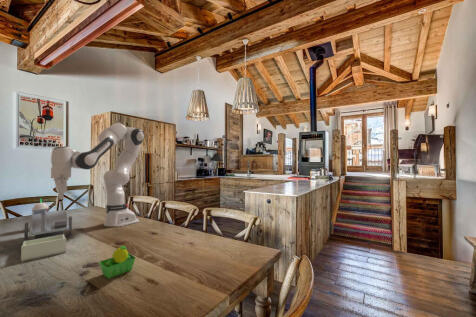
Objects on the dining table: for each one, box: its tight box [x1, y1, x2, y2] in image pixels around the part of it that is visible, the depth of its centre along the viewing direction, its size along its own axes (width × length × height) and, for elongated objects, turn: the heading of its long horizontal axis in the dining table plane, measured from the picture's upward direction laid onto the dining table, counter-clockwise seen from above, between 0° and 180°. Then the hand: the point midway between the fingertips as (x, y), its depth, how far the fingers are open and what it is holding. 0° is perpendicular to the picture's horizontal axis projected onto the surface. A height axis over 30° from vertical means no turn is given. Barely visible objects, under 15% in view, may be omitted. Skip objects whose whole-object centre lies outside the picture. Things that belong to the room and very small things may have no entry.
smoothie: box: [31, 198, 50, 212], centre depth 142 cm, size 8×8×20 cm
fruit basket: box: [98, 245, 136, 279], centre depth 87 cm, size 11×9×11 cm
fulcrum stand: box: [23, 215, 73, 242], centre depth 124 cm, size 20×4×11 cm, turn 132°
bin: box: [20, 233, 67, 263], centre depth 106 cm, size 16×16×7 cm
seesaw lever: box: [28, 208, 69, 237], centre depth 124 cm, size 16×28×4 cm, turn 42°
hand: (61, 199), depth 121 cm, fingers closed
